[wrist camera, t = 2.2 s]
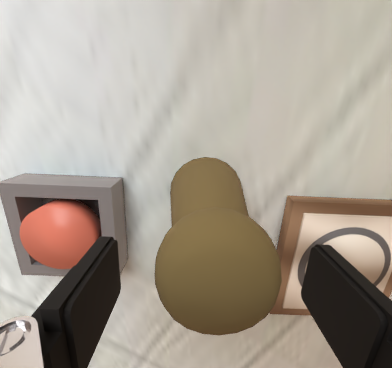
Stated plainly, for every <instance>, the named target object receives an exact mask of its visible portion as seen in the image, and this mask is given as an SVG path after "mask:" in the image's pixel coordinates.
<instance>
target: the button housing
mask: <svg viewBox="0 0 392 368" xmlns="http://www.w3.org/2000/svg"><path fill="white" fill-rule="evenodd" d="M0 196H1V200H2V203H3V207H4V211H5V215H6V218H7V222H8V226H9V229H10V233H11V237H12V241H13V244H14V248H15V252H16V256H17V259H18V263H19V267H20V270H21V274H22V275H48V276H65V275H66V274H67V273H68V272H69V271H70V269H56V268H51V267H48V266H45V265H43V264H41V263H39V262H38V261H36V260H35V259H34V258H32V257H31V256H30V255H29V254H28V252H27V251H26V250H25V248H24V247H23V244H22V242H21V239H20V226H21V223H22V221H23V220H24V218H25V217H26V216H27V215H28V214H30V213H31V212H33V211H34V210H36V209H38V208H39V207H41V206H43V202H42V198H62V199H87V200H98V204H99V213H100V222H101V231H102V236H106V237H113V238H114V240H117V242H118V255H119V269H120V274H121V272H122V270H123V268H124V266H125V263H126V261H127V259H128V253H127V238H126V223H125V209H124V194H123V180H122V178H119V177H95V176H72V175H48V174H22V175H19V176H16V177H13V178H10V179H7V180H4V181H1V182H0Z"/></svg>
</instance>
